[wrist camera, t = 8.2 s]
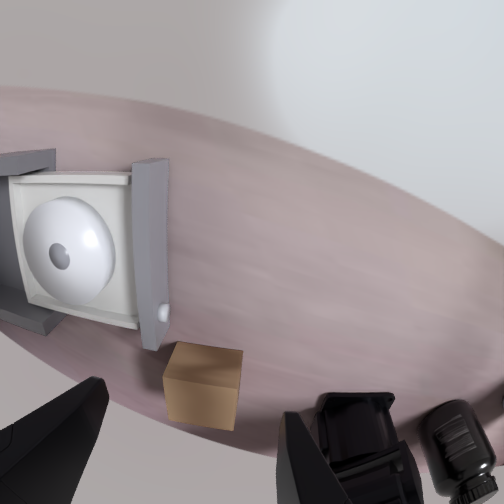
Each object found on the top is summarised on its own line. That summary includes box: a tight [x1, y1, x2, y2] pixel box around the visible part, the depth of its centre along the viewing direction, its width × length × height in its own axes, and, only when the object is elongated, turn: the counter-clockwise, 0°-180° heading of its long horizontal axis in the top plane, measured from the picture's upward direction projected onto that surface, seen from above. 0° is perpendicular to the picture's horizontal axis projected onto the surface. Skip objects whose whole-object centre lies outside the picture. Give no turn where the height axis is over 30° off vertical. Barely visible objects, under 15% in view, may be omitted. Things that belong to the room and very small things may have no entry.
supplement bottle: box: [417, 400, 498, 504], centre depth 19 cm, size 7×7×12 cm
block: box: [162, 341, 243, 431], centre depth 21 cm, size 5×5×4 cm
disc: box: [23, 196, 116, 305], centre depth 17 cm, size 7×7×2 cm
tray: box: [8, 158, 170, 351], centre depth 18 cm, size 12×12×3 cm
